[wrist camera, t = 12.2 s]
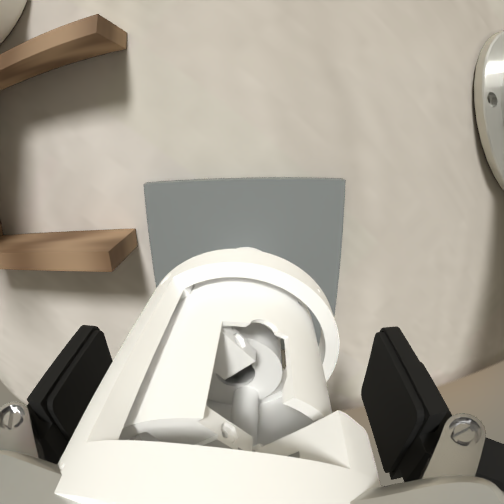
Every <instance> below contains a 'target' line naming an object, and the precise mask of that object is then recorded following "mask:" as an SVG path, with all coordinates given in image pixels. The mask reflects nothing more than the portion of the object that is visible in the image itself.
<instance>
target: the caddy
mask: <svg viewBox="0 0 504 504" xmlns="http://www.w3.org/2000/svg"><path fill="white" fill-rule="evenodd" d="M126 44H127V33H126V32H125V31H123V30H122V29H120V28H119V27H117V26H116V25H114V24H113V23H111V22H110V21H108V20H107V19H105V18H103V17H102V16H100V15H99V14H96V15H93V16H90V17H87V18H84V19H81V20H78V21H75V22H72V23H69V24H67V25H64V26H61V27H59V28H56V29H54V30H51V31H49V32H46V33H44V34H42V35H39V36H37V37H35V38H32V39H30V40H28V41H26V42H24V43H22V44H20V45H18V46H16V47H14V48H12V49H10V50H8V51H6V52H4V53H2V54H0V91H1V90H3V89H5V88H7V87H10V86H12V85H14V84H17V83H19V82H21V81H24V80H26V79H29V78H31V77H34V76H36V75H39V74H42V73H44V72H47V71H50V70H53V69H56V68H59V67H62V66H65V65H68V64H71V63H74V62H77V61H81V60H84V59H88V58H91V57H95V56H99V55H103V54H107V53H111V52H115V51H119V50H124V49H126ZM137 246H138V245H137V238H136V230H135V229H113V230H90V231H69V232H49V233H32V234H15V235H3V232H2V227H1V222H0V269H12V270H47V271H95V272H113V271H114V270H115V268H116V267H117V266H118V265H119V264H120V263H121V262H122V261H123V260H124V259H125V258H126V257H127V256H128V255H129V254H130V253H131V252H132V251H133V250H134V249H135V248H136V247H137Z"/></svg>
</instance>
